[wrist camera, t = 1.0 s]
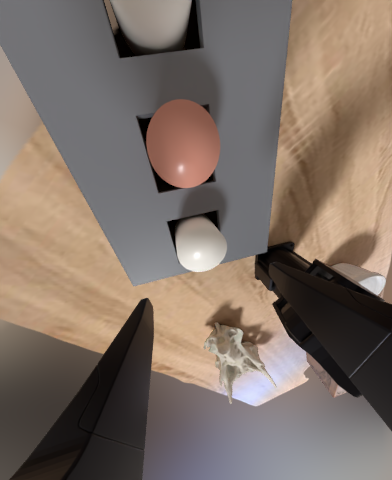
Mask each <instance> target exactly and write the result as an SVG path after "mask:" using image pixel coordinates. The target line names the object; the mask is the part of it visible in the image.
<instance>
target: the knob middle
mask: <svg viewBox="0 0 392 480" xmlns="http://www.w3.org/2000/svg"><path fill="white" fill-rule="evenodd" d="M146 145H147V152H148V156H149V159H150V162H151V164H152V166H153V168H154V169H155V171H156V172H157V173H158V175H159V176H160V177H161V178H162V179H163V180H165V181H166V182H167V183H169V184H171V185H173V186H176V187H180V188H191V187H195V186H198V185H200V184H201V183H203V182H204V181H206V180H207V179H208V178H209V177H210V176H211V174H212V173H213V171H214V170H215V168H216V165H217V163H218V160H219V155H220V138H219V133H218V130H217V127H216V124H215V122H214V120H213V119H212V117H211V116H210V114H209V113H208V112H207V111H206V110H205V109H204V108H203V107H202V106H200V105H199V104H197V103H195V102H193V101H190V100H185V99H176V100H172V101H170V102H167V103H165V104H164V105H162V106H161V107H160V108H159V109H158V110H157V111H156V112H155V114H154V115H153V117H152V119H151V121H150V123H149V126H148V130H147V137H146Z"/></svg>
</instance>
